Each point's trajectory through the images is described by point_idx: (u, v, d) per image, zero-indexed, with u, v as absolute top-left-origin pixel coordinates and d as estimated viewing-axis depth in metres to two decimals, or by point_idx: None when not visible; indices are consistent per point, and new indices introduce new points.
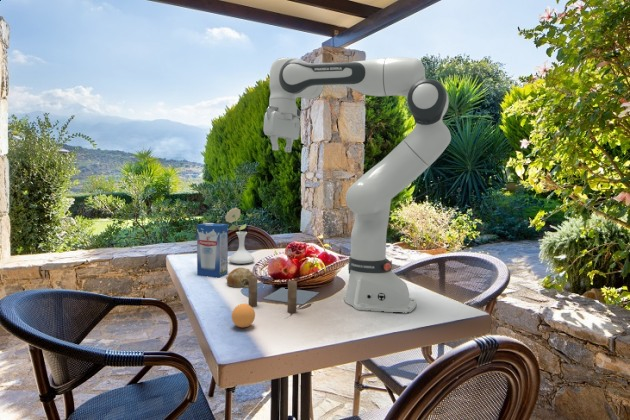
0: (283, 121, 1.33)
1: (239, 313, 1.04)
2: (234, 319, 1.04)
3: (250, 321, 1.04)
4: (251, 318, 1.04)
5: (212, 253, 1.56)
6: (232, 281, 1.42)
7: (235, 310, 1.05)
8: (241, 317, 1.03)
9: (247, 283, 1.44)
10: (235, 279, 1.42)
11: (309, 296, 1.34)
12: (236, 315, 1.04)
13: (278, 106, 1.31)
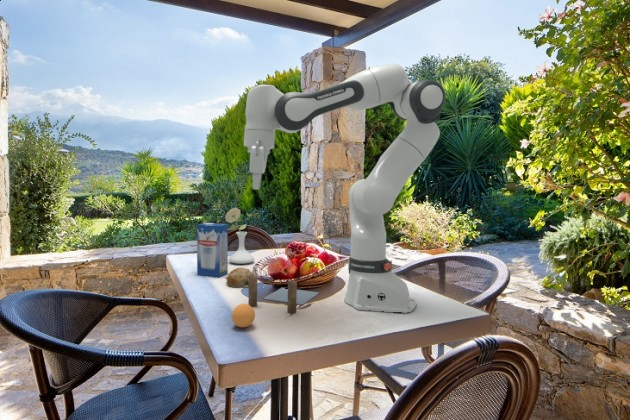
0: None
1: (239, 313, 1.04)
2: (234, 319, 1.04)
3: (250, 321, 1.04)
4: (251, 318, 1.04)
5: (212, 253, 1.56)
6: (232, 281, 1.43)
7: (235, 310, 1.05)
8: (241, 317, 1.03)
9: (247, 283, 1.44)
10: (235, 279, 1.42)
11: (309, 296, 1.34)
12: (236, 315, 1.04)
13: (261, 139, 1.15)
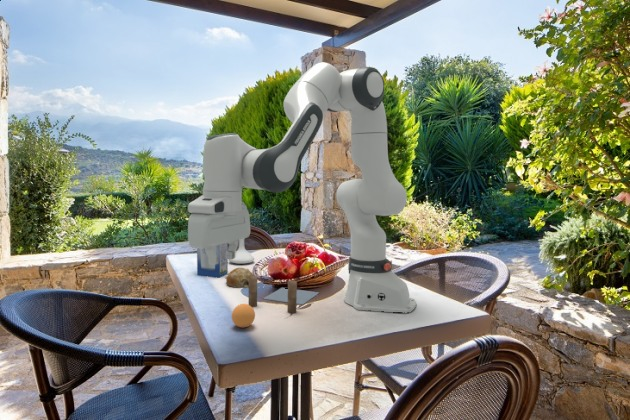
0: None
1: (239, 313, 1.04)
2: (234, 319, 1.04)
3: (250, 321, 1.04)
4: (251, 318, 1.04)
5: None
6: (232, 281, 1.43)
7: (235, 310, 1.05)
8: (241, 317, 1.03)
9: (246, 283, 1.44)
10: (234, 279, 1.42)
11: (309, 296, 1.34)
12: (236, 315, 1.04)
13: None
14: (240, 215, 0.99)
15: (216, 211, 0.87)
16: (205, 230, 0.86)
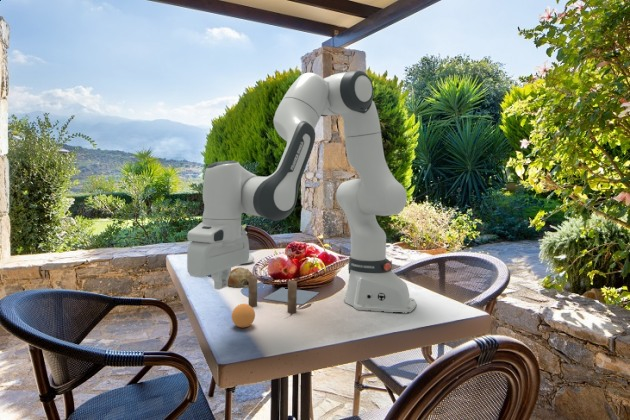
0: None
1: (239, 313, 1.04)
2: (234, 319, 1.04)
3: (250, 321, 1.04)
4: (251, 318, 1.04)
5: None
6: (231, 281, 1.43)
7: (235, 310, 1.05)
8: (241, 317, 1.03)
9: (246, 283, 1.44)
10: (234, 279, 1.42)
11: (309, 296, 1.34)
12: (236, 315, 1.04)
13: None
14: (239, 241, 0.99)
15: (215, 240, 0.88)
16: (204, 259, 0.86)
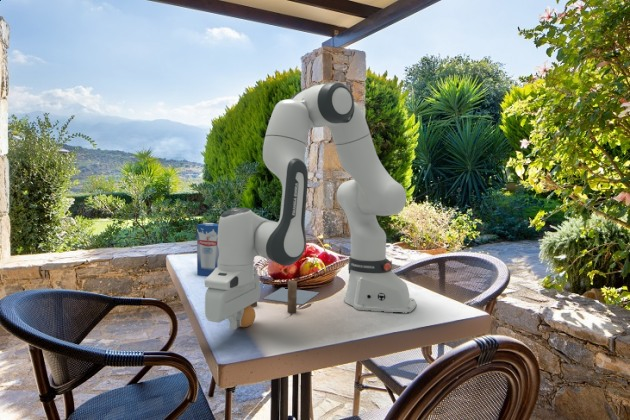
0: None
1: None
2: None
3: (250, 321, 1.05)
4: (251, 317, 1.05)
5: (212, 253, 1.56)
6: None
7: None
8: None
9: None
10: None
11: (309, 296, 1.34)
12: None
13: None
14: (251, 282, 1.05)
15: (231, 287, 0.93)
16: (221, 306, 0.92)
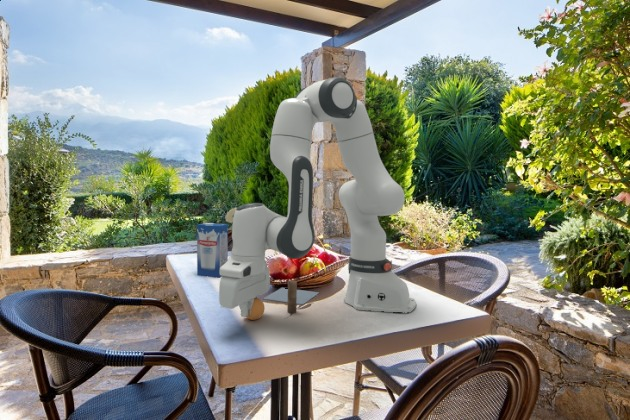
0: None
1: None
2: None
3: (258, 310, 1.10)
4: (260, 307, 1.10)
5: (212, 253, 1.56)
6: None
7: None
8: None
9: None
10: None
11: (309, 296, 1.34)
12: None
13: None
14: (262, 273, 1.11)
15: (244, 275, 1.00)
16: (234, 293, 0.98)
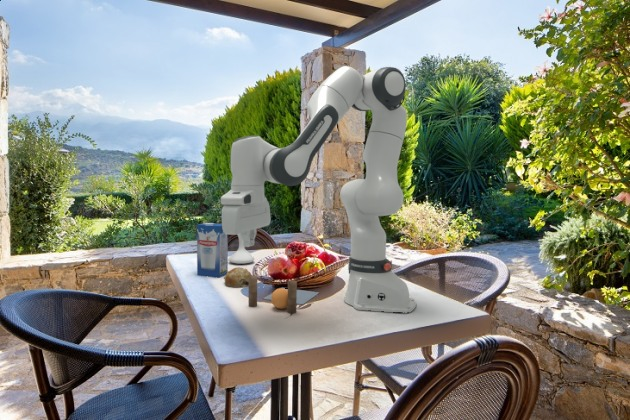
0: None
1: None
2: None
3: None
4: (287, 303, 1.20)
5: (212, 253, 1.56)
6: (230, 280, 1.43)
7: None
8: (282, 308, 1.21)
9: (245, 283, 1.44)
10: (233, 279, 1.43)
11: (309, 296, 1.34)
12: None
13: None
14: (262, 206, 1.15)
15: (245, 202, 1.03)
16: (236, 219, 1.02)
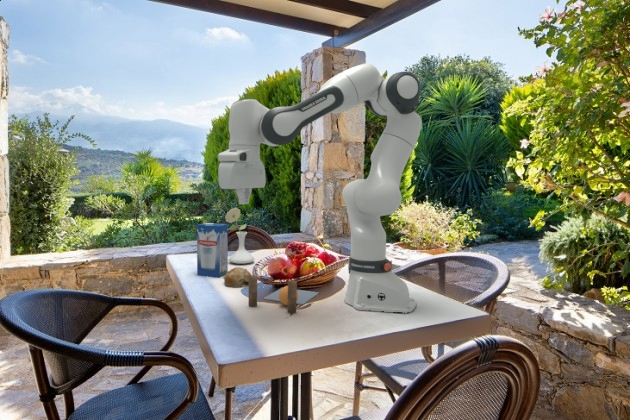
0: None
1: (283, 296, 1.22)
2: None
3: None
4: None
5: (212, 253, 1.56)
6: (230, 280, 1.43)
7: (280, 294, 1.23)
8: (286, 299, 1.22)
9: (244, 283, 1.44)
10: (232, 279, 1.43)
11: (309, 296, 1.34)
12: (281, 299, 1.22)
13: None
14: (258, 167, 1.22)
15: (240, 159, 1.10)
16: (232, 174, 1.08)
